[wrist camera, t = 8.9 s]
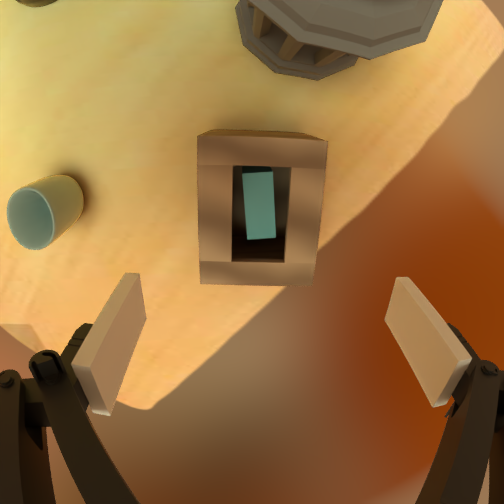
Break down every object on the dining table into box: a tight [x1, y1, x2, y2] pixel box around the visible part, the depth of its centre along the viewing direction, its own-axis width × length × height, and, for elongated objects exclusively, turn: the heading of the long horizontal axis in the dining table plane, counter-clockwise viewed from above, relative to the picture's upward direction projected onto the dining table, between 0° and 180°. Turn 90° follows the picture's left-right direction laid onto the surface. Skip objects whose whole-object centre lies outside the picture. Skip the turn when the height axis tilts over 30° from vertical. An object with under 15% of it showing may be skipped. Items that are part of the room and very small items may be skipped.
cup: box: [7, 175, 84, 250], centre depth 34 cm, size 8×8×10 cm
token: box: [242, 166, 276, 240], centre depth 36 cm, size 7×3×7 cm, turn 4°
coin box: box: [197, 130, 328, 286], centre depth 34 cm, size 14×11×12 cm
